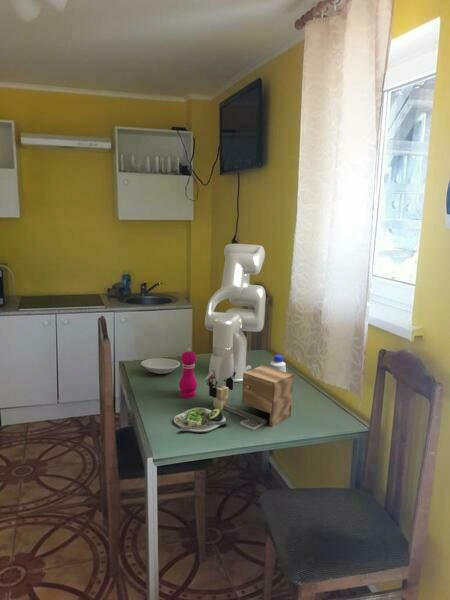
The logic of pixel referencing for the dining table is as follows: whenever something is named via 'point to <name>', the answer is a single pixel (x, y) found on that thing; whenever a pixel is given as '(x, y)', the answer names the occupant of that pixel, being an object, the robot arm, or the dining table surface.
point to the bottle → (278, 363)
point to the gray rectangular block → (252, 423)
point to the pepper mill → (188, 375)
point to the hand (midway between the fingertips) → (221, 392)
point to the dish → (160, 365)
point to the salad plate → (200, 420)
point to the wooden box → (268, 392)
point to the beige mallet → (222, 402)
